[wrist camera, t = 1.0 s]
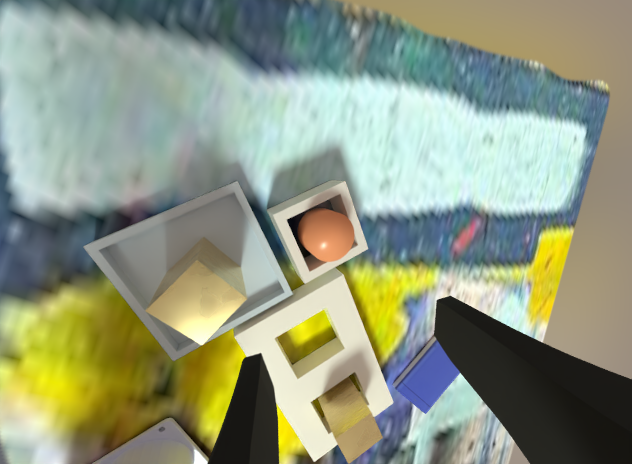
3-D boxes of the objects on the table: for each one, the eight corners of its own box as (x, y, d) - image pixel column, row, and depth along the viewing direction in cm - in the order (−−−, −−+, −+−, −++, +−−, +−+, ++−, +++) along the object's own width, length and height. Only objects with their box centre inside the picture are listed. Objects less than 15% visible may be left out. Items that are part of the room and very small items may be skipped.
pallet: (308, 443, 30) (314, 461, 28) (233, 323, 23) (234, 336, 21) (383, 389, 32) (393, 402, 30) (334, 267, 26) (343, 274, 24)
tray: (176, 349, 22) (173, 361, 20) (93, 241, 18) (83, 246, 17) (289, 287, 24) (293, 294, 23) (236, 180, 21) (237, 181, 19)
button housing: (295, 271, 24) (304, 284, 21) (266, 209, 22) (272, 215, 19) (352, 240, 26) (368, 248, 23) (330, 180, 23) (345, 180, 21)
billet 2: (325, 409, 29) (348, 463, 24) (312, 387, 28) (334, 439, 23) (353, 389, 30) (382, 437, 25) (342, 366, 29) (371, 412, 23)
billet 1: (206, 301, 21) (201, 345, 16) (166, 272, 20) (145, 310, 14) (240, 267, 22) (247, 298, 16) (203, 236, 20) (196, 260, 15)
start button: (307, 259, 22) (318, 270, 20) (290, 219, 21) (299, 226, 19) (345, 239, 23) (360, 247, 21) (330, 200, 22) (345, 203, 19)
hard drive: (460, 317, 33) (397, 390, 32) (483, 347, 36) (427, 415, 35) (449, 311, 34) (389, 381, 33) (473, 341, 37) (418, 406, 36)
